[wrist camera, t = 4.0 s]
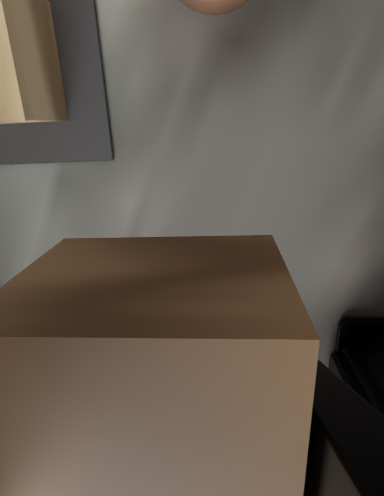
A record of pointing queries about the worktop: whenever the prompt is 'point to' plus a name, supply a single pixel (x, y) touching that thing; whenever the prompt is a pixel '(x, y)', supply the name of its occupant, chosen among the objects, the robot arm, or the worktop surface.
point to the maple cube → (29, 64)
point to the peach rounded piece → (214, 5)
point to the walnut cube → (156, 370)
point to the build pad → (68, 98)
